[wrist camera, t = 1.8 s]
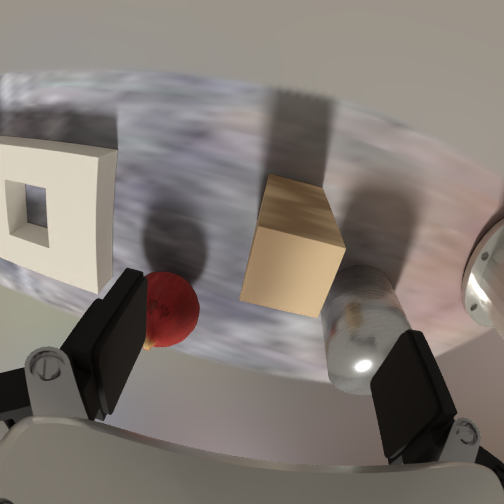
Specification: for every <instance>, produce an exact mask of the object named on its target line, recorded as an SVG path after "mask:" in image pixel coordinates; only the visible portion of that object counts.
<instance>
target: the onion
mask: <svg viewBox="0 0 504 504" xmlns="http://www.w3.org/2000/svg"><path fill="white" fill-rule="evenodd" d="M144 277H147V278H148V288H147V317H146V338H145V342H144V344H143V348H144V349H145V350H147V351H149V350H150V349H151V347H153V346H154V347H168V346H172V345H174V344H177V343H179V342H181V341H183V340H184V339H185V338H186V337H187V336H188V335H189V334H190V333H191V332H192V331H193V330H194V328H195V326H196V324H197V321H198V316H199V310H200V305H199V302H198V299H197V295H196V293H195V291H194V289H193V288H192V286H191V285H190V283H189V282H188V281H186V280H185V279H183V278H182V277H181V276H179V275H176V274H173V273H171V272H152V273H150V274H148V275H146V276H144Z"/></svg>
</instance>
